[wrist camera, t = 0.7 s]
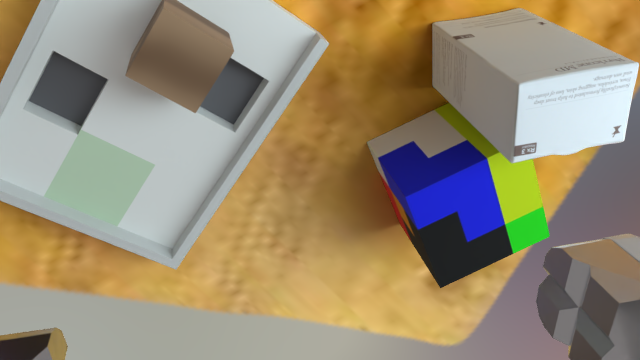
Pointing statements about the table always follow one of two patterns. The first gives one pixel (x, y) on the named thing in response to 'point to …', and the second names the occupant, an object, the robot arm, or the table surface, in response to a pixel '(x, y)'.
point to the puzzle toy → (458, 194)
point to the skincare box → (532, 83)
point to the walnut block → (180, 55)
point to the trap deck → (140, 120)
